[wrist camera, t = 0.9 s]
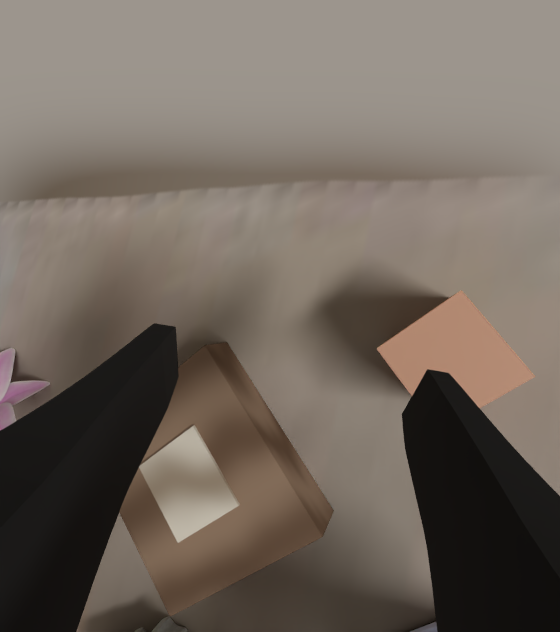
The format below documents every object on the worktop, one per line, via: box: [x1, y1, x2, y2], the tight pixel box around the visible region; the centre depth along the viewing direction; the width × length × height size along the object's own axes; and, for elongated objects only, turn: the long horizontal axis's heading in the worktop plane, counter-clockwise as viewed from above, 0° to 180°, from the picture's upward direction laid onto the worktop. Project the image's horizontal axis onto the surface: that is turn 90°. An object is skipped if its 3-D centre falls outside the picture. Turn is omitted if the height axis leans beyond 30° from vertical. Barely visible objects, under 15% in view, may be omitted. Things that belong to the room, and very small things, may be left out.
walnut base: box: [119, 342, 334, 616], centre depth 26 cm, size 14×14×3 cm
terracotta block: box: [377, 290, 535, 408], centre depth 18 cm, size 5×5×6 cm
